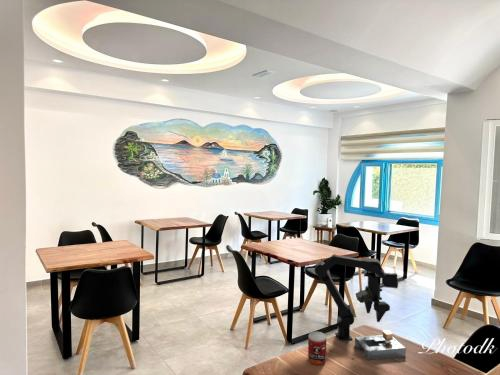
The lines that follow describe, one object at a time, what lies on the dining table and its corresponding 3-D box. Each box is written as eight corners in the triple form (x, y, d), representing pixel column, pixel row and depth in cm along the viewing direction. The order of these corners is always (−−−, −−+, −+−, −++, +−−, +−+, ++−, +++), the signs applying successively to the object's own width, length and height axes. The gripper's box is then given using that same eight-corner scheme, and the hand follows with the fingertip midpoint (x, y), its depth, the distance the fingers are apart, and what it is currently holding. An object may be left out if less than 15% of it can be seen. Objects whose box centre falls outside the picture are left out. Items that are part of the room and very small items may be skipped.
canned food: (307, 364, 138) (307, 339, 137) (308, 353, 146) (308, 330, 145) (325, 367, 136) (326, 341, 136) (326, 356, 144) (326, 332, 143)
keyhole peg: (380, 348, 151) (381, 330, 150) (388, 347, 151) (389, 329, 151) (385, 353, 147) (386, 334, 146) (393, 352, 147) (394, 334, 147)
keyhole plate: (354, 345, 153) (355, 336, 153) (390, 342, 156) (390, 334, 155) (367, 360, 141) (367, 350, 141) (405, 356, 144) (405, 347, 144)
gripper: (349, 279, 163) (348, 310, 164) (368, 293, 144) (367, 327, 145) (370, 278, 165) (369, 308, 165) (391, 292, 146) (390, 326, 147)
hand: (373, 317), depth 156 cm, fingers open, 9 cm apart
